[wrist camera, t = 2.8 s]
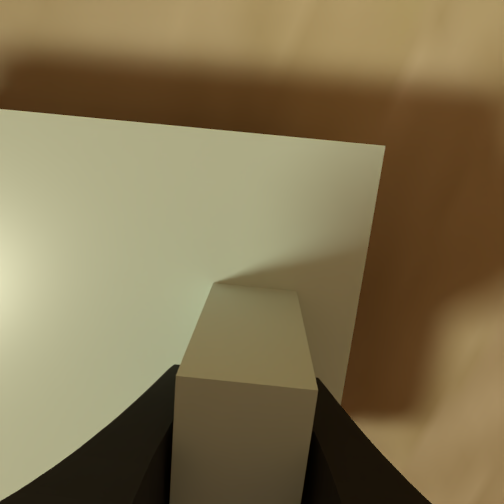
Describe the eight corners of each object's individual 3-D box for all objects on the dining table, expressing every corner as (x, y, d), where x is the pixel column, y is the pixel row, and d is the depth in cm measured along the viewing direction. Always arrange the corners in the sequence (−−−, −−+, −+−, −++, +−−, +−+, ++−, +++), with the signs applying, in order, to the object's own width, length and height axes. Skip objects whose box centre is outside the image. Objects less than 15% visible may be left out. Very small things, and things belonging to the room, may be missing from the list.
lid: (306, 513, 13) (335, 781, 8) (-132, 467, 13) (-421, 697, 8) (365, 146, 10) (486, 140, 5) (-202, 92, 10) (-758, 22, 5)
